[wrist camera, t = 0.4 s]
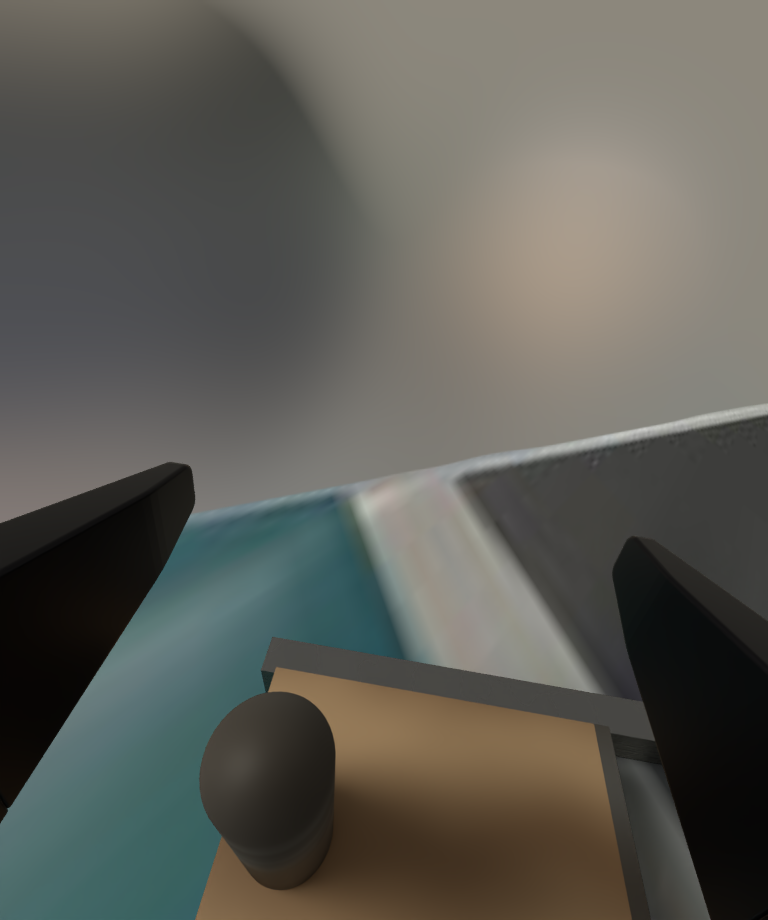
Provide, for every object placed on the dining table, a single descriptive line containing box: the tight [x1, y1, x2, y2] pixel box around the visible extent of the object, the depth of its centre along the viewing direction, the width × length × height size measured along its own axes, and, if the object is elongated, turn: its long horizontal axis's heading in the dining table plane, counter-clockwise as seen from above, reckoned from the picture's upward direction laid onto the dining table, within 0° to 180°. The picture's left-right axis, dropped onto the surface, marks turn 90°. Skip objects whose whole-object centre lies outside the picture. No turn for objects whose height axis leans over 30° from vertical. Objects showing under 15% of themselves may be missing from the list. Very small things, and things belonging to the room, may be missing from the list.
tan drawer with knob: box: [195, 667, 651, 920], centre depth 14 cm, size 10×14×11 cm
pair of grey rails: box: [261, 637, 662, 764], centre depth 16 cm, size 14×30×4 cm, turn 82°
